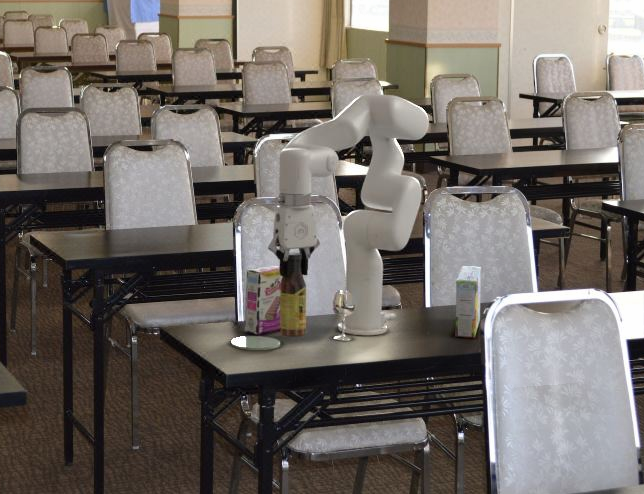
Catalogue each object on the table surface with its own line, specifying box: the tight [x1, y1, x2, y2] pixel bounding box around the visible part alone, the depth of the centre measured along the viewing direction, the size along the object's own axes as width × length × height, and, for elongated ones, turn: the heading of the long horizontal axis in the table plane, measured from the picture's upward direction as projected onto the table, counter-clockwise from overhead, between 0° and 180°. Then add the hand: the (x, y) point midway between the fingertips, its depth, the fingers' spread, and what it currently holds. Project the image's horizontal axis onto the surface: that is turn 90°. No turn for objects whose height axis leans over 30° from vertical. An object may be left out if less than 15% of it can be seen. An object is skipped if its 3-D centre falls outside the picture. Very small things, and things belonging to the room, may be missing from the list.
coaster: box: [231, 335, 281, 351], centre depth 306 cm, size 12×12×1 cm
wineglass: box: [332, 289, 355, 342], centre depth 313 cm, size 6×6×12 cm
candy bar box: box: [244, 265, 283, 336], centre depth 320 cm, size 11×5×16 cm, turn 135°
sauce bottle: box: [279, 252, 307, 338], centre depth 297 cm, size 7×6×20 cm
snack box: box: [454, 265, 482, 339], centre depth 326 cm, size 21×6×15 cm, turn 164°
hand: (293, 274), depth 297 cm, fingers closed on sauce bottle, 4 cm apart
